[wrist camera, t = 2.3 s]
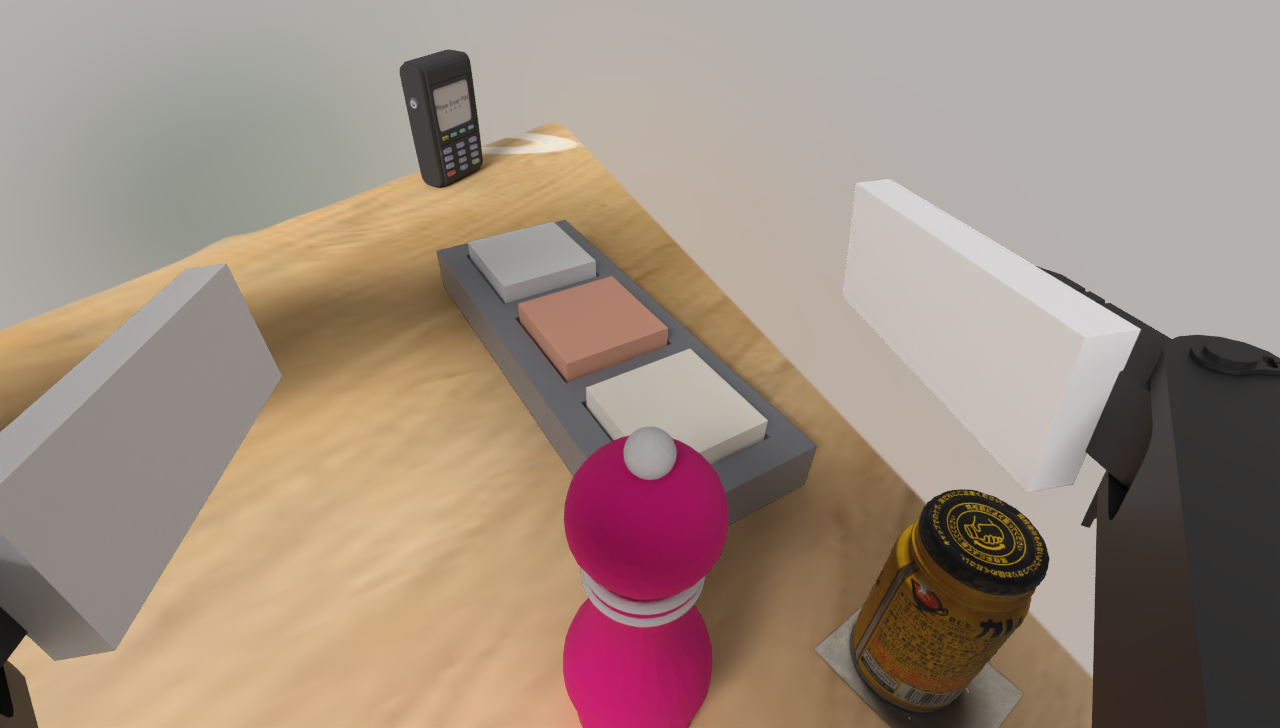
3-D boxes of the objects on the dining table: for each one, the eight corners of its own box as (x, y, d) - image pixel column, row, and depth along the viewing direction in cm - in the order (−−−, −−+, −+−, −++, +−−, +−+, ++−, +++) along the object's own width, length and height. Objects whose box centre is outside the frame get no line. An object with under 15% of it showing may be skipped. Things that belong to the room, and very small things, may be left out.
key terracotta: (568, 394, 47) (566, 364, 45) (521, 332, 53) (517, 303, 51) (666, 357, 51) (668, 328, 49) (612, 303, 56) (611, 275, 55)
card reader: (442, 191, 80) (419, 67, 70) (419, 185, 81) (393, 62, 71) (487, 168, 86) (472, 51, 76) (465, 162, 87) (447, 47, 78)
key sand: (653, 503, 39) (655, 473, 37) (587, 418, 45) (585, 387, 43) (761, 450, 43) (768, 420, 41) (687, 378, 49) (690, 348, 47)
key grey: (507, 315, 55) (503, 286, 53) (472, 269, 60) (467, 242, 58) (596, 288, 58) (595, 260, 56) (555, 247, 64) (553, 221, 62)
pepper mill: (728, 684, 33) (802, 424, 20) (648, 810, 29) (678, 577, 16) (625, 606, 36) (632, 339, 24) (538, 707, 32) (489, 446, 19)
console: (639, 573, 38) (641, 535, 36) (443, 285, 63) (436, 250, 60) (804, 483, 44) (816, 445, 41) (566, 252, 68) (565, 219, 66)
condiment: (889, 581, 38) (959, 451, 31) (1022, 695, 33) (1145, 573, 26) (813, 651, 35) (870, 524, 27) (949, 790, 30) (1067, 683, 22)
